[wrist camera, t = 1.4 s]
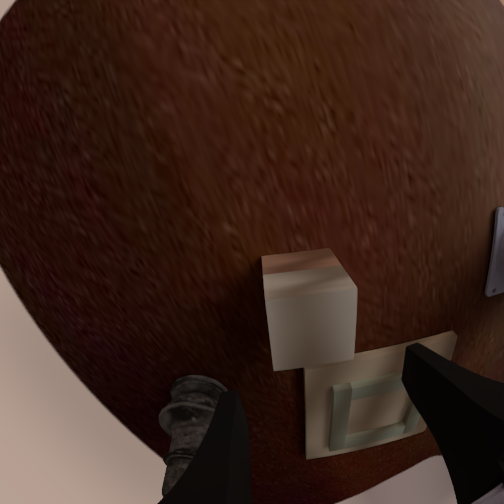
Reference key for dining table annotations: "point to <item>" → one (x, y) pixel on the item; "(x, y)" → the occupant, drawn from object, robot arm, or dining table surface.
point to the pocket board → (363, 399)
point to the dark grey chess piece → (187, 422)
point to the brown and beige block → (309, 309)
